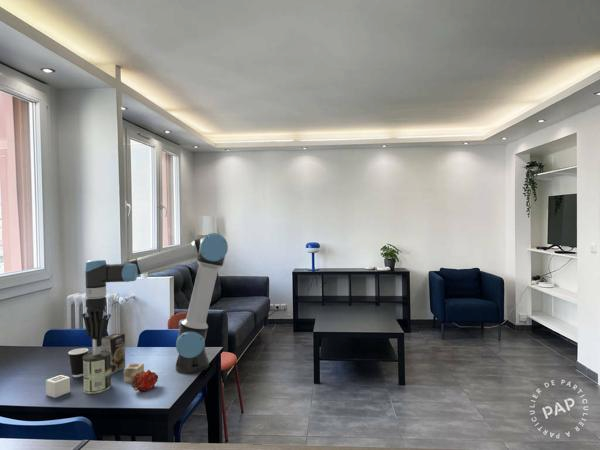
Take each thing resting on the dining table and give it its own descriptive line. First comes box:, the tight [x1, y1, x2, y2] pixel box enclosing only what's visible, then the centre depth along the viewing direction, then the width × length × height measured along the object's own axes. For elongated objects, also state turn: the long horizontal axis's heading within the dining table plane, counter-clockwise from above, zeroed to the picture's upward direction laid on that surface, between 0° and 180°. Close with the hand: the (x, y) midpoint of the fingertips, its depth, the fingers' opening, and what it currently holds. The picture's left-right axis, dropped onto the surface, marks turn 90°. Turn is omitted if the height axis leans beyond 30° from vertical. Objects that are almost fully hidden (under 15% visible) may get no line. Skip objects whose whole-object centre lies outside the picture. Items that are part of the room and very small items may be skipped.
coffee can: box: [83, 351, 112, 395], centre depth 158 cm, size 10×10×14 cm
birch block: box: [123, 362, 145, 383], centre depth 167 cm, size 6×6×6 cm
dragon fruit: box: [131, 369, 159, 393], centre depth 157 cm, size 8×8×12 cm
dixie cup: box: [68, 347, 89, 378], centre depth 173 cm, size 8×8×11 cm
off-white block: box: [45, 374, 71, 399], centre depth 154 cm, size 6×6×6 cm
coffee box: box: [101, 333, 126, 375], centre depth 178 cm, size 9×6×16 cm
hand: (96, 353), depth 158 cm, fingers closed
